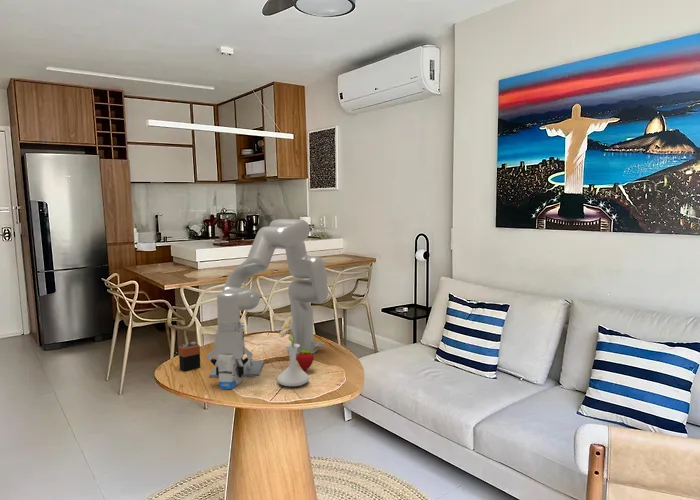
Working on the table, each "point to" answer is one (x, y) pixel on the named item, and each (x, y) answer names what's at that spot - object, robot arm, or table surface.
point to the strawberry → (305, 359)
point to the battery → (189, 356)
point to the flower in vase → (291, 361)
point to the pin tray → (246, 372)
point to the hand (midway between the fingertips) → (230, 376)
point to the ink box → (228, 372)
